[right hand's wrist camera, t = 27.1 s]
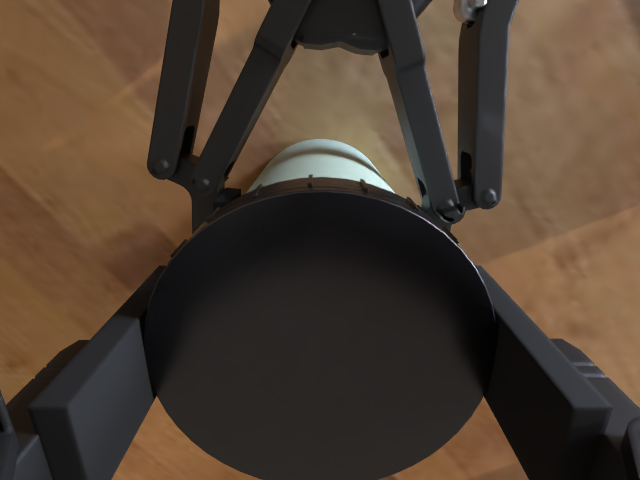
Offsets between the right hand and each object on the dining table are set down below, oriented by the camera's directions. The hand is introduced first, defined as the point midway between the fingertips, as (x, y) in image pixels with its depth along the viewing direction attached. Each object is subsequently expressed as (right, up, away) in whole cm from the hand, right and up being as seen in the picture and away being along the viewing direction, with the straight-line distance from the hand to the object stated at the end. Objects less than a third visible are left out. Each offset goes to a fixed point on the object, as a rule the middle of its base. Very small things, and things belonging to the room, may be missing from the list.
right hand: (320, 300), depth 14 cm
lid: (0, -1, -3) cm, 3 cm away
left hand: (0, -2, +8) cm, 8 cm away
